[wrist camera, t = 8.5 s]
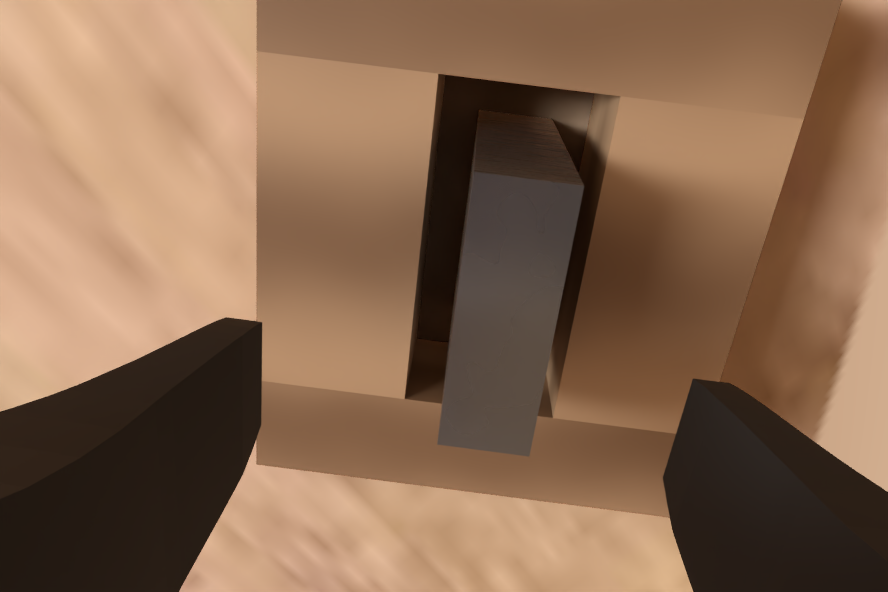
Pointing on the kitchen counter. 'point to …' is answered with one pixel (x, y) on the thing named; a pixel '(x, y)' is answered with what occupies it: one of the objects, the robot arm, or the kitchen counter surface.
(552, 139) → the grey rectangular block
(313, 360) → the slotted wooden block
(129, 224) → the kitchen counter surface
